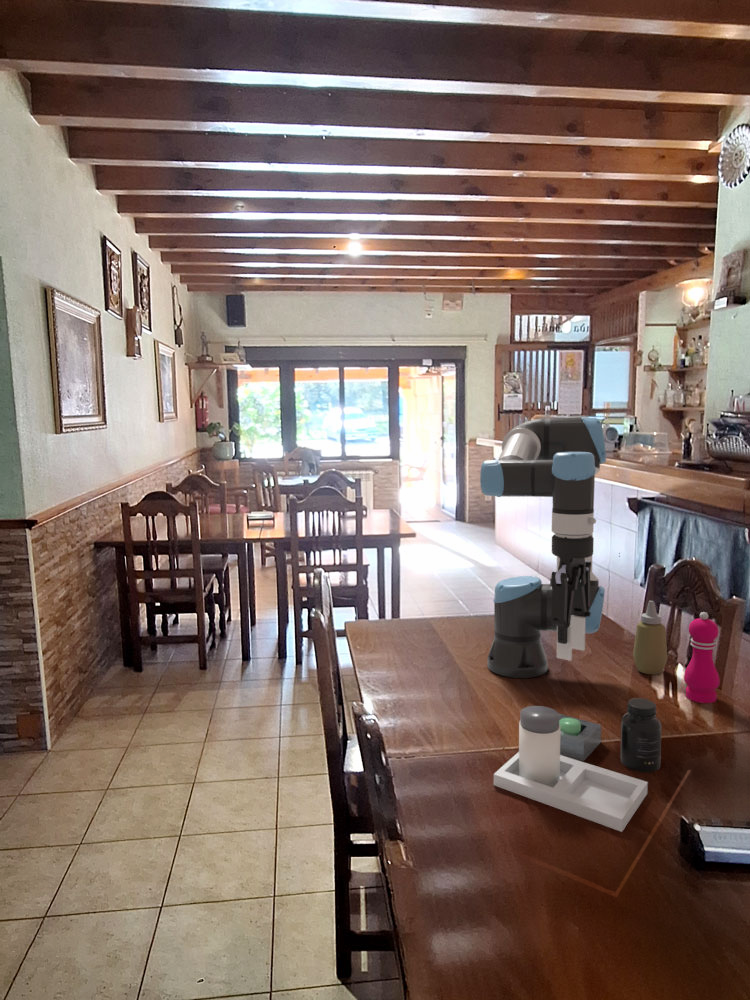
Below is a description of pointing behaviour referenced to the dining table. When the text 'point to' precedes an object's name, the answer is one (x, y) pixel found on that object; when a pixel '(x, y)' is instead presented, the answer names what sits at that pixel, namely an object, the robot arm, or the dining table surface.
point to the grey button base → (580, 740)
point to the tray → (580, 791)
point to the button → (570, 726)
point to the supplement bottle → (641, 736)
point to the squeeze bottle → (650, 642)
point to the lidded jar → (539, 745)
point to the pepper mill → (702, 661)
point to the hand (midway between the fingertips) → (570, 653)
